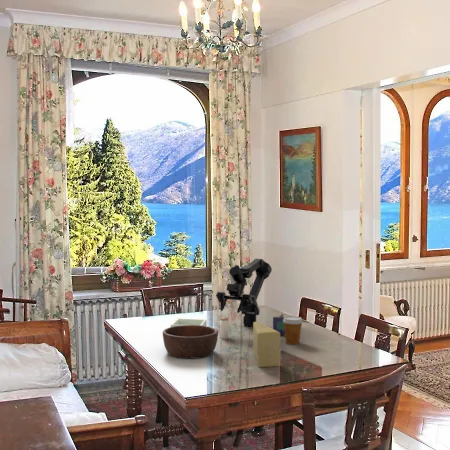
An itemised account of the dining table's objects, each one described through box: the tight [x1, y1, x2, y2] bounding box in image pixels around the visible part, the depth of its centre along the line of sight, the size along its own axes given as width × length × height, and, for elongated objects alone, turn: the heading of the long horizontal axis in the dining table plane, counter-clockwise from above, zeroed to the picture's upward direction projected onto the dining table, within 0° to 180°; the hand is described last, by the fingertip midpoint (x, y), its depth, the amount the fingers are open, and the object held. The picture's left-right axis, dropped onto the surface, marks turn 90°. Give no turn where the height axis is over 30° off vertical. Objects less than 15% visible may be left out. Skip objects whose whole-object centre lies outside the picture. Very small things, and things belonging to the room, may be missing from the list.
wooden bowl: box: [162, 325, 219, 359], centre depth 284 cm, size 25×25×10 cm
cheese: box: [252, 321, 281, 368], centre depth 272 cm, size 22×10×15 cm, turn 13°
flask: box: [272, 313, 285, 336], centre depth 321 cm, size 9×3×11 cm, turn 87°
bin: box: [170, 318, 208, 327], centre depth 331 cm, size 16×16×4 cm
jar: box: [219, 316, 229, 340], centre depth 313 cm, size 4×4×10 cm
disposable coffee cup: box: [283, 315, 304, 345], centre depth 303 cm, size 10×10×12 cm
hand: (229, 311), depth 318 cm, fingers open, 9 cm apart
